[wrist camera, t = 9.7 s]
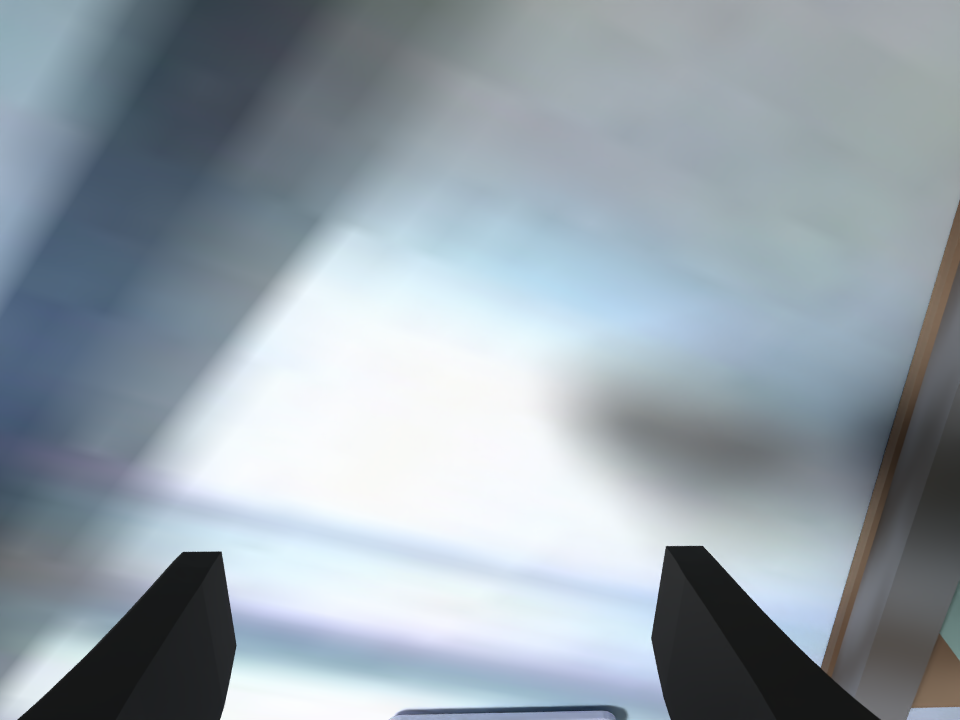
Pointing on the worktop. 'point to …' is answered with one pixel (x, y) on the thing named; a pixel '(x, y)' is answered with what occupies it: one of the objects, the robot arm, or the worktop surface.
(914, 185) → the worktop surface
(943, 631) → the green block
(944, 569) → the track
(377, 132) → the worktop surface
